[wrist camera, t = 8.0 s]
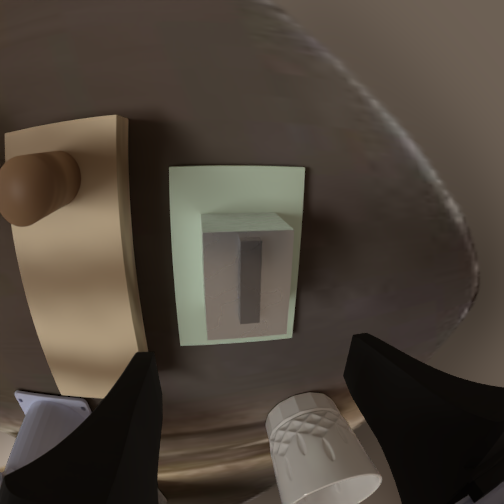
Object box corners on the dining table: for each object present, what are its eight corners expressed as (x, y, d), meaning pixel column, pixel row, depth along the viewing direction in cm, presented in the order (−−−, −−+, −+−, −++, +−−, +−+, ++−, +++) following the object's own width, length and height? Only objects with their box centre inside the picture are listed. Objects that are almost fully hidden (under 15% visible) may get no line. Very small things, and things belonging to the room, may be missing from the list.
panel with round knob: (152, 372, 22) (146, 443, 16) (71, 370, 21) (47, 434, 14) (128, 118, 16) (91, 106, 10) (28, 133, 15) (-37, 135, 8)
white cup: (246, 437, 27) (267, 524, 17) (280, 381, 25) (318, 479, 15) (314, 440, 29) (346, 514, 19) (353, 389, 27) (401, 468, 17)
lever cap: (270, 301, 21) (289, 339, 17) (204, 305, 20) (208, 346, 16) (274, 212, 19) (298, 233, 15) (200, 214, 18) (203, 236, 14)
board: (289, 333, 23) (291, 337, 22) (180, 340, 22) (180, 345, 21) (301, 166, 19) (305, 167, 18) (169, 166, 18) (168, 167, 17)
